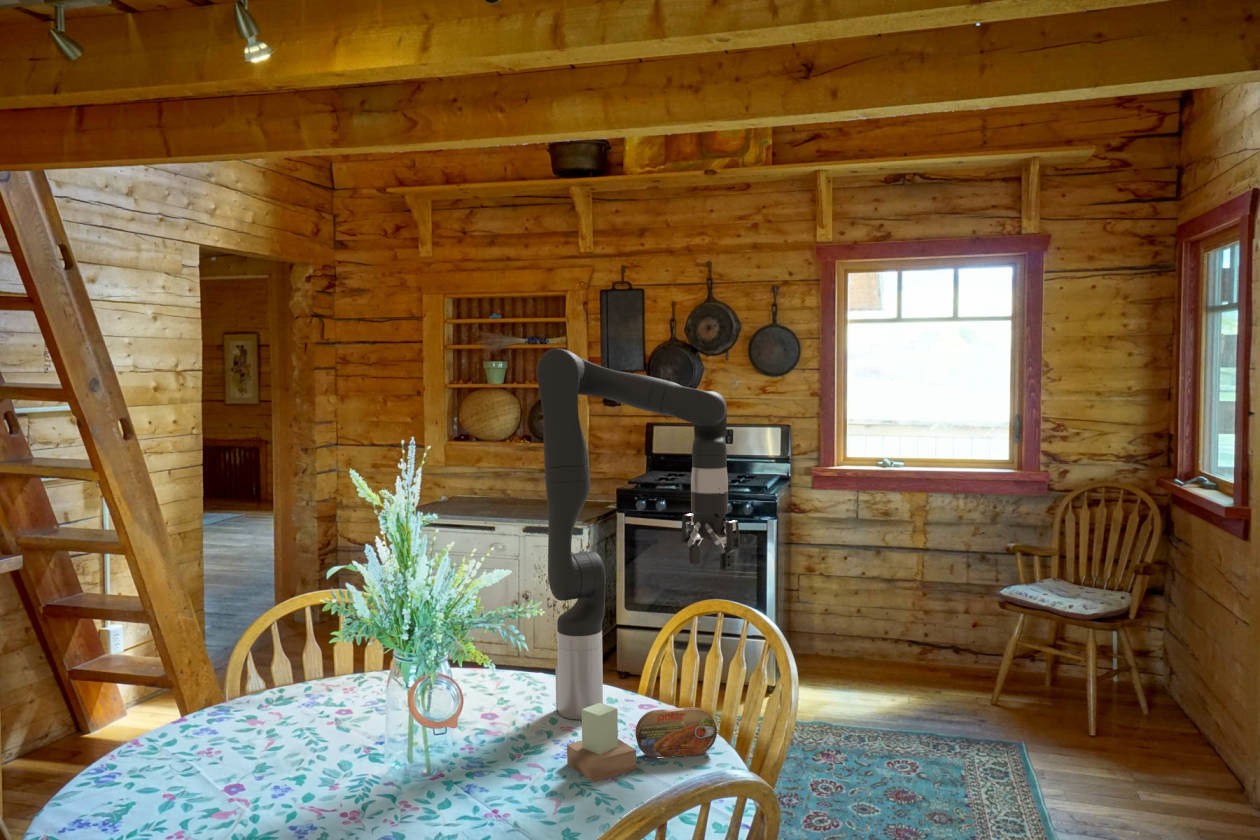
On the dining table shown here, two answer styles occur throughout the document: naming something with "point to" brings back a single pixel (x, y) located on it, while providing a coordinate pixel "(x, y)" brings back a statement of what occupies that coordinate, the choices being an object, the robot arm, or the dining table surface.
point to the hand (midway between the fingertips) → (709, 567)
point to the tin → (675, 732)
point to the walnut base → (601, 761)
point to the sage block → (599, 728)
